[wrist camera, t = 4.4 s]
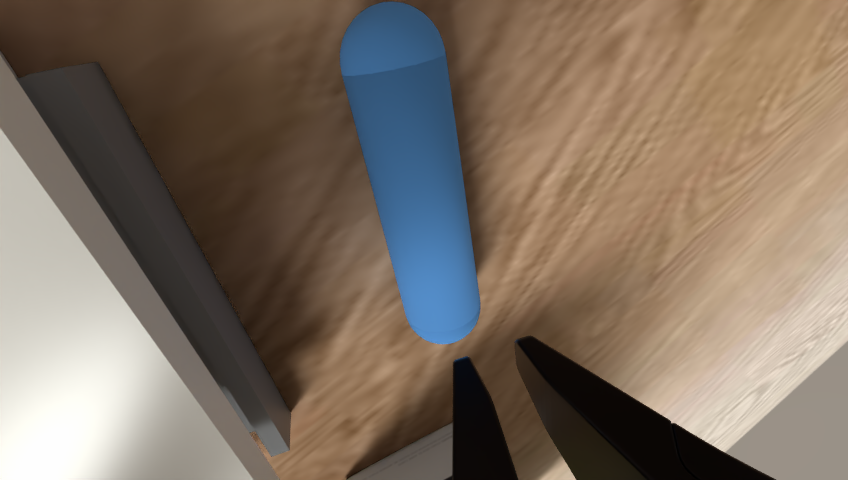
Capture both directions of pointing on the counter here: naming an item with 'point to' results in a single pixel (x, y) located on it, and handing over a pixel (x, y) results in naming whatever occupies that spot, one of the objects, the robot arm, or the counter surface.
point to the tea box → (416, 460)
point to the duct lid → (93, 338)
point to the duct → (157, 237)
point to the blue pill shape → (414, 164)
